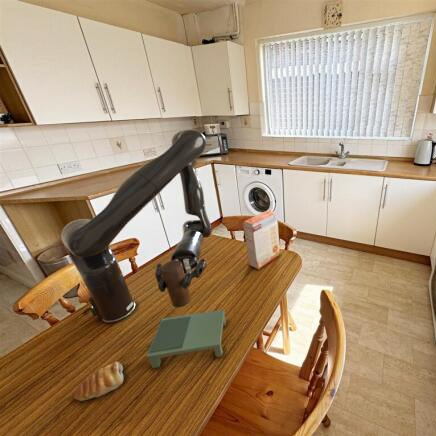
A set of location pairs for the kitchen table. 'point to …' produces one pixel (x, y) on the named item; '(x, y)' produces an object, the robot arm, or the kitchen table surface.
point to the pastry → (101, 382)
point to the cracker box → (262, 238)
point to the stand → (187, 335)
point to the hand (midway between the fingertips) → (173, 287)
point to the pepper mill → (175, 283)
